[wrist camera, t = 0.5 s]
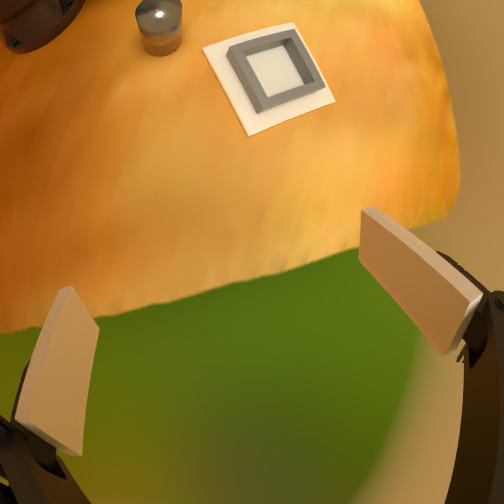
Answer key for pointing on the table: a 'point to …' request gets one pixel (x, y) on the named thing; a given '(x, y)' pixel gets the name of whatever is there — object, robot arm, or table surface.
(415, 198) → the table surface
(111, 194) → the table surface
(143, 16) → the glossy bronze cylinder
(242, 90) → the square socket
